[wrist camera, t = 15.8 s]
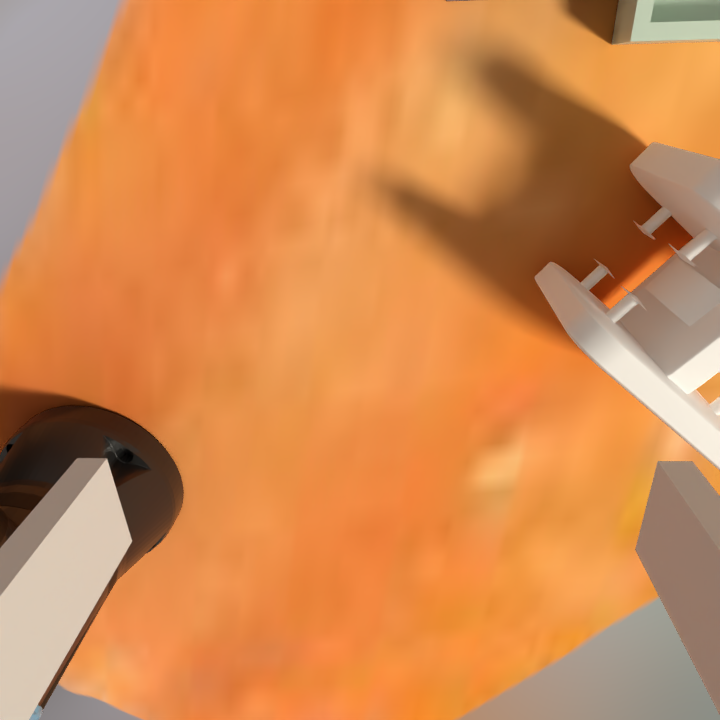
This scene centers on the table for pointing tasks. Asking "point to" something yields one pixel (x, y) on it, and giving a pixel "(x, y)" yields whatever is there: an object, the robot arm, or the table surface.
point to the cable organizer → (660, 303)
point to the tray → (666, 21)
